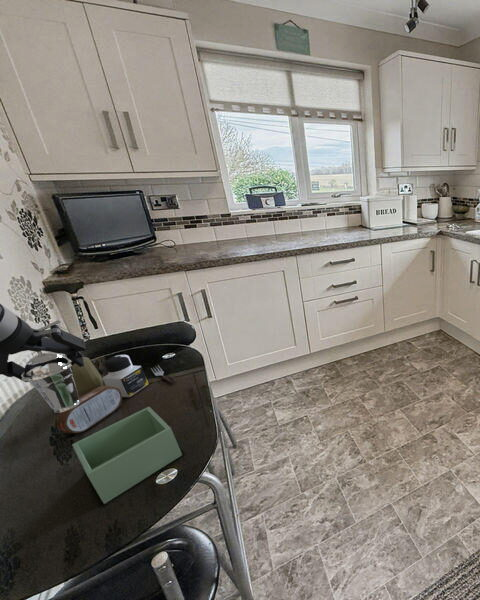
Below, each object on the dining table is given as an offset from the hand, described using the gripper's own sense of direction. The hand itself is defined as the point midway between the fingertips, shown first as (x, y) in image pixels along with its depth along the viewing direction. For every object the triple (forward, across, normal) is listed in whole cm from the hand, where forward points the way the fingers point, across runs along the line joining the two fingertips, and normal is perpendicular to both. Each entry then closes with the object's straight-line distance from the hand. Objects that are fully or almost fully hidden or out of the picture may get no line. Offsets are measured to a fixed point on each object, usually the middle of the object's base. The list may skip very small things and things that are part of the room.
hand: (55, 368), depth 76 cm
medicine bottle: (+31, +6, +1) cm, 32 cm away
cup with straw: (+4, 0, -9) cm, 9 cm away
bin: (+3, +10, -28) cm, 29 cm away
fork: (+32, +15, +1) cm, 36 cm away
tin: (+23, 0, -8) cm, 24 cm away
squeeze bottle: (+36, -5, +6) cm, 37 cm away
